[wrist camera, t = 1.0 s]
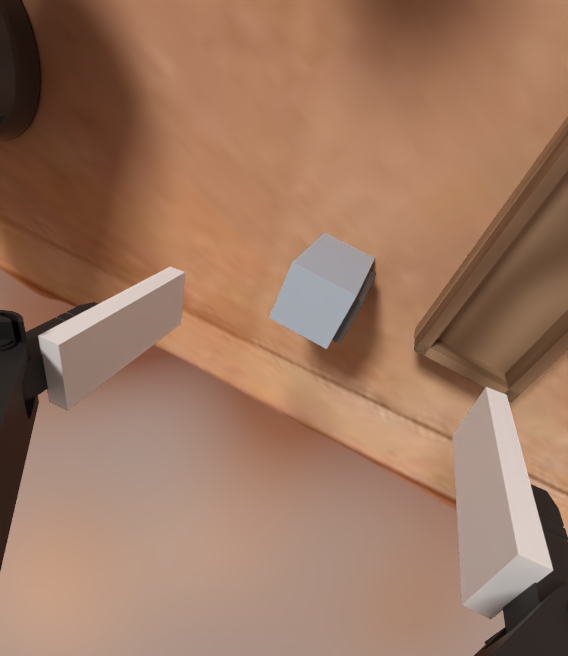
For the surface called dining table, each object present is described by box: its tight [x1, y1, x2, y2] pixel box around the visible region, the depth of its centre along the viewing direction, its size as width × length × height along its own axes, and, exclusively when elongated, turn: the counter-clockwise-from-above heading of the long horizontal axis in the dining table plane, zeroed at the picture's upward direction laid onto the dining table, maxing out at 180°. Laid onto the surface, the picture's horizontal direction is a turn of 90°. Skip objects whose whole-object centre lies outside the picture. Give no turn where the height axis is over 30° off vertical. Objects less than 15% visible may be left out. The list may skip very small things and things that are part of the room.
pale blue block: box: [269, 233, 376, 349], centre depth 27 cm, size 4×5×8 cm
